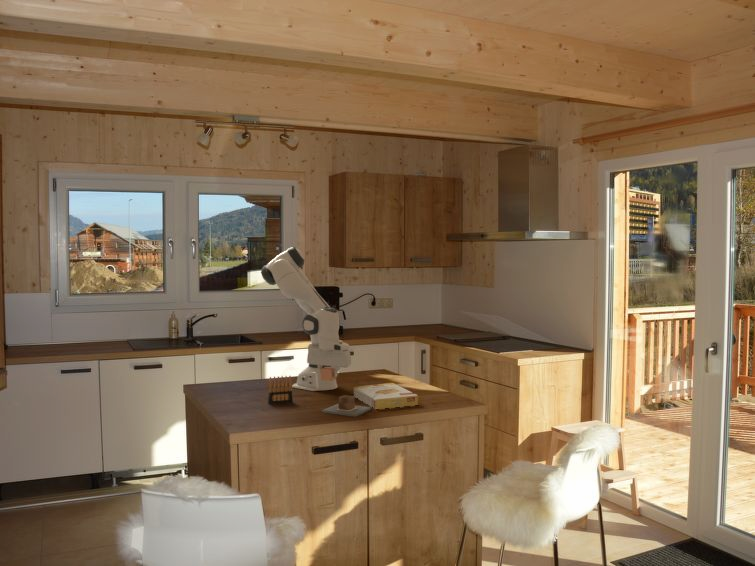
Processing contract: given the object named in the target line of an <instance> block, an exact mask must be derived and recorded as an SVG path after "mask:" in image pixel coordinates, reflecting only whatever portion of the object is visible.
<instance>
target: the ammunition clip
mask: <svg viewBox="0 0 755 566" xmlns="http://www.w3.org/2000/svg"><path fill="white" fill-rule="evenodd" d="M280 377H281V378H280ZM292 385H293V383H292V377H291V375H289V376H287V375H285V377H284V376H283V375H281V376H277V378H276V376H273V379H272V376H269V380H268V395H267V396H268V398H267V403H269V405H272V404H271V403H277V404H287V403H286V402H289V403H293V387H292Z"/></svg>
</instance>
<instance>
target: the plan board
mask: <svg viewBox="0 0 755 566" xmlns="http://www.w3.org/2000/svg"><path fill="white" fill-rule="evenodd" d="M369 411H372V407H371V406H365V405H364V406H363V405H356V404H355V408H353V409H351V410H342V409H339V402H338V403H336V404H334V405H331V406H329V407H327V408H324V409H322V410H321V413H322V412H323V414H331V415H337V414H338V415H339V416H346V417H354V418H356V417H359V416H361V415H363V414H364V413H367V412H369Z"/></svg>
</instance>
